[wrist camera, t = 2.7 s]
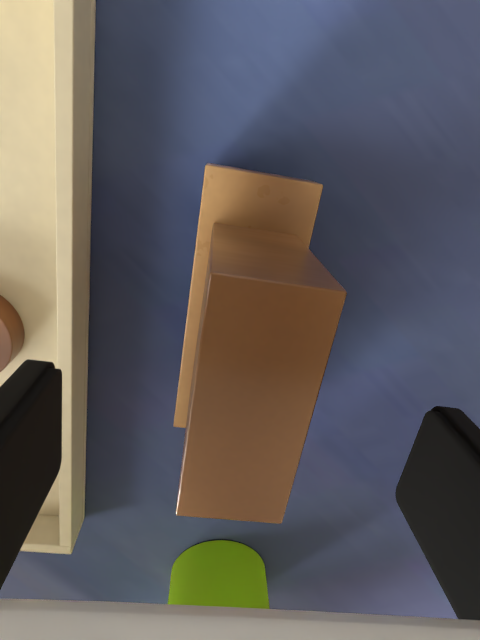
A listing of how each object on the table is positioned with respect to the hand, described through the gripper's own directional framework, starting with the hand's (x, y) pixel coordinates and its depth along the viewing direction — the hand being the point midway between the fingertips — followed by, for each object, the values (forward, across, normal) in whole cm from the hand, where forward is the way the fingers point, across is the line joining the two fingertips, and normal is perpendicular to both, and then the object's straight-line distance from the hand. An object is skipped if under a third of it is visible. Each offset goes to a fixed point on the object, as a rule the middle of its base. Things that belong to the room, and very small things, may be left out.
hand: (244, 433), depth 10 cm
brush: (+9, 0, -1) cm, 9 cm away
